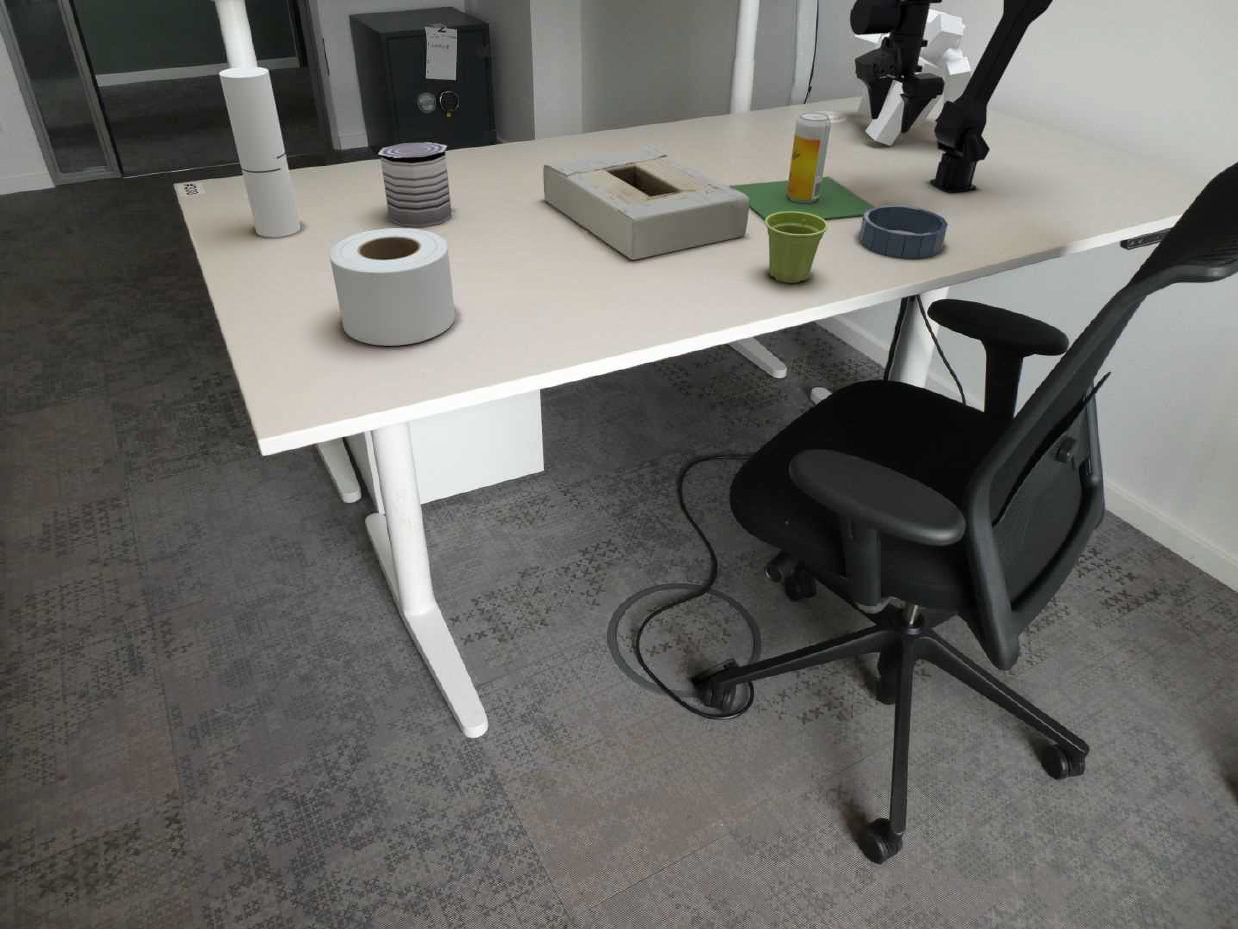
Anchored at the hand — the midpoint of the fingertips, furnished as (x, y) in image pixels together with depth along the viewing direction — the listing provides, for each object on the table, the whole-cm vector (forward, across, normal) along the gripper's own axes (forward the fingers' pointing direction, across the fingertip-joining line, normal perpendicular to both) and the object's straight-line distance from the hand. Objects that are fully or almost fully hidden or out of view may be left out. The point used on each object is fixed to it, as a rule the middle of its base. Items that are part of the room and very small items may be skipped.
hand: (888, 125), depth 160 cm
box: (+13, -3, -47) cm, 49 cm away
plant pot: (+13, +27, -34) cm, 45 cm away
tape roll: (+13, +23, -94) cm, 98 cm away
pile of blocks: (+13, -35, +29) cm, 47 cm away
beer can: (+13, -2, -15) cm, 20 cm away
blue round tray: (+13, +21, -9) cm, 26 cm away
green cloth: (+13, -2, -15) cm, 20 cm away
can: (+13, -16, -84) cm, 86 cm away
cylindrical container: (+13, -17, -108) cm, 110 cm away
